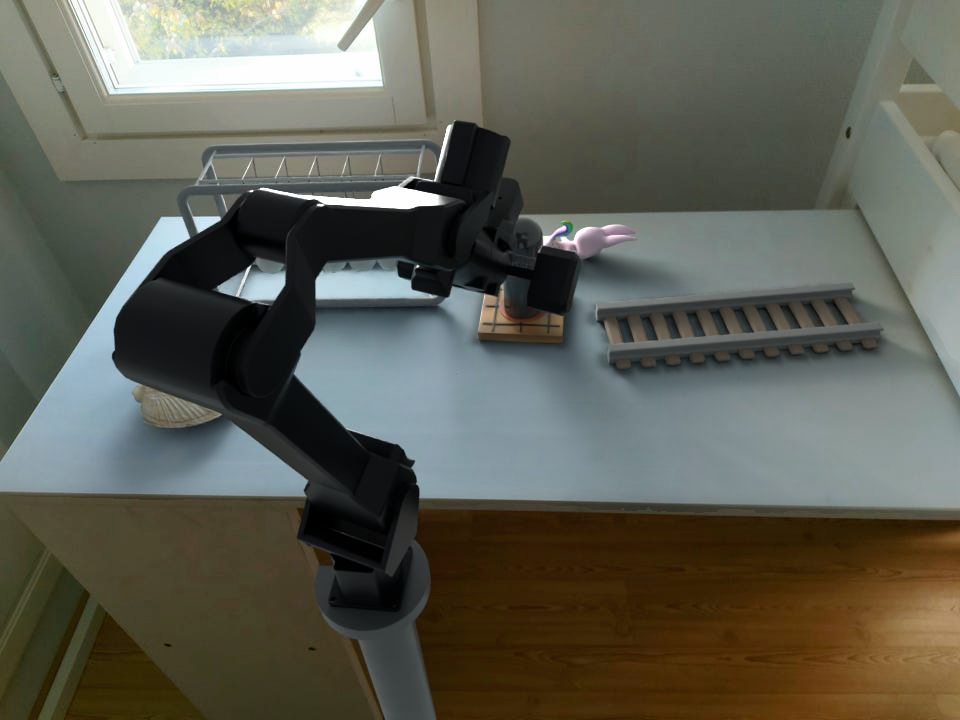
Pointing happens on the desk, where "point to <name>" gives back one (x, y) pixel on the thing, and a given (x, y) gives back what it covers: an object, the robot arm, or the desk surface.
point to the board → (517, 324)
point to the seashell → (170, 409)
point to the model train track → (735, 325)
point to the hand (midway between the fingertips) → (508, 279)
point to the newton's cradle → (312, 188)
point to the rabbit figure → (588, 238)
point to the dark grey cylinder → (526, 246)
